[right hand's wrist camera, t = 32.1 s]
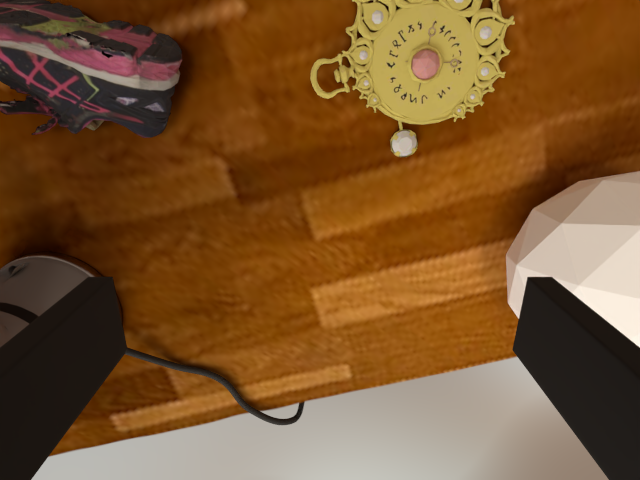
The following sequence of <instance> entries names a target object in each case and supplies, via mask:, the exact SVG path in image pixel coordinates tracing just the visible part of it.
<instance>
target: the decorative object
mask: <svg viewBox="0 0 640 480" xmlns="http://www.w3.org/2000/svg"><path fill="white" fill-rule="evenodd" d="M352 1H354V2H356V3H357V5H358V10H357V15H356V19H355V23H354V24H353V26H352V27H347V28H346V33H347V34H349V35H350V36H351V38H352V44H351V47H350V49H349V50H348V51H347V52H345V51H344V50H343V51H342V53H343V54H342V55H341V54H338V56H337V57H335V58H333V59H325V58H322V59H319V60H317V61H316V62H315V63H314V65H313V67H312V70H311V78H310V79H311V82H312V86H313V88H314V90H315V91H316V93H317V94H318V95H319V96H321V97H323V98H326V99H329V98H331V97H333V96H335V95H336V94H337V93H338V92H343V91H346V92H347V93H348V92H350V89H349V86H348V85H347V84H346V82H347V81H348V79H349V77H351V76H352V77H353V78H354V77H355V78H356V85H355V86H352V87H353V90H355V89H358V90H359V91H360V92H361V96H360V97H359V98H360V99H362V98H364V99H367V103H368V104H367V105H366V106H367V108H368V107H369V106H370V107H373V109H374V112H376V108H378V109H379V110H380V111H381V112H383V113H384V114H386V115H388V116H389V117H391V118H393V119H395V120H398V124H399V129H400V130H399V131H397V132H395V134H394V135H393V137H392V138H391V140H390V144H391V151H392V152H393V153H394V154H395V155H396V156H398V157H408V156H410V155H412V154H413V153H414V152H415V151H416V149H417V145H418V143H417V137H416V135H415V133H414V132H412V131H411V130H405V129H403V128H402V123H401V122H405V123H409V124H430V123H437V122H441V121H443V120H446V119H449V118H452V117H455V119H454V122H455V121H456V119H457V118H458V117H462V119H464V118H465V116H464V115H465V112H466V111H470V112H472V113H473V112H474V109H473V107H474V106H476V105H478V104H480V105H481V106H482V105H483V103H484V102H482V97H483V95H484V94H485V93H487V92H493V91H494V90H495V89H494V88H493V87H492V83H493V82H494V81H495V80H496V79H497V78H498V77H502V78H504V77H505V76H504V74H505V73H506V72H501V71H500V68H499V64H498V62H499V61H500V60H501V58H502V57H504V56H506V55H508V54H509V52H510V50H508V49H507V48H506V47H505V45H504V41H503V39H504V37H505V33H506V29H507V27H508V26H509V25H510V24H515V21H513V18H514V17H513V16H511V17H510V18H509V19H504V18H503V17H502V14H501V8H500V5H499V2H498V1H499V0H491V2H492V5H493V11H492V10H491V9H490V8H484V9H480V6H481V3H482V1H483V0H473V2H472V5H471V7H469V8H468V9H466V10H463V9H465V8H466V7H467V6H468V5H469V4H470V2H471V1H472V0H439V1H434V0H405V1H404V0H373V3H368V2H369V1H370V0H352ZM378 1H380V2H382V3H383V4H385V5H387V6H388V7H389V12H388V11H387V9H386V7H385V6H384V5H382V4H380V3H379V2H378ZM361 2H362V4H361ZM396 5H397V6H398V7H401V8H399V9H398V10H396ZM479 9H480V10H479ZM461 10H462V11H461ZM362 14H363V15H364V16H363V17H362ZM388 16H389V17H388ZM471 16H472V19H471V24H470V23H469V22H468V21H467V19H466V18H465V17H471ZM486 17H492V19H486V20H481V21H479V19H482V18H486ZM495 18H496V21H495ZM363 19H364V22H365V23H366V25H367V26H368V28H369V29H370V30H372V31H377V32H370V31H369V30H368V28H367V27H366V25H365V24H364V22H363V21H362V20H363ZM478 21H479V22H478ZM477 22H478V23H477ZM504 23H505V24H504ZM476 24H477V25H476ZM503 26H504V27H503ZM352 30H353V31H352ZM358 30H359V33H360V34H361V35H362V36H363V38H359V39H357V31H358ZM349 31H352V33H351V32H349ZM496 38H497V41H496V42H494V43H493V44H492V45H491V46H489V47H488V48H483V47H481V46H486V45H489V44H490V43H492V42H493V41H495V39H496ZM356 39H357V40H356ZM371 40H373V41H372V42H371ZM363 44H366V45H367V46H368V47H369V48H368V47H366V46H364V45H363ZM358 45H362V46H360V47H357V46H358ZM501 50H503V51H504V52H505V53H504V54H501ZM350 52H351V53H350ZM494 52H495V57H494V56H493V55H491V54H493V53H494ZM479 53H480V54H481V55H483V56H482V57H481V58H480V59H479ZM344 56H346V57H347V58H348V60H349V62H350V64H351V67H350V68H347V67H346V66H344V65H343V66H342V57H344ZM351 57H352V58H351ZM336 61H339V64H340V67H339V71H338V70H337V69H336V70H335V71H334V75H335V80H336V81H337V83H338V82H340V80H341V81H342V83H344V88H340V89H336V90H334V91H333V92H331V93H326V92H324V91H323V90H322V89H321V88H320V87H319V85H318V82H317V71H318V69H319V67H320V65H322V64H329V63H334V62H336ZM485 61H488V62H485ZM482 62H485V63H482ZM489 62H490V63H492V64H490V63H489ZM358 64H359V65H358ZM365 64H366V65H365ZM361 65H365V67H364V66H361ZM496 69H497V71H498V72H496ZM353 70H354V71H355V73H354V71H353ZM367 71H368V73H367ZM495 75H496V76H495ZM364 76H366V77H364ZM494 76H495V77H494ZM492 77H494V78H493V79H492V80H491V78H492ZM479 80H481V82H480V81H479ZM474 83H475V86H474V87H472V86H473V84H474ZM486 87H489V89H487V90H485V88H486ZM368 88H369V89H368ZM474 90H476V91H474ZM371 92H372V93H371ZM364 94H365V95H366V96H367V97H366V96H364ZM363 96H364V97H363ZM479 96H480V98H479ZM462 102H463V104H462ZM475 102H477V103H475ZM467 107H471V108H470V109H471V110H470V109H466V108H467Z"/></svg>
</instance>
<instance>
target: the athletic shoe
mask: <svg viewBox="0 0 640 480" xmlns="http://www.w3.org/2000/svg"><path fill="white" fill-rule="evenodd" d="M181 62H182V51H181V49H180V47H179V46H178V44H177V43H176V42H175V41H174V40H173V39H172V38H171V37H170V36H168V35H165V34H162V33H159V34H158V35H157V34H156V33H155V32H154V31H153V30H152V29H151V28H149V27H147V26H143V25H140V24H139V25H137V26H135V27H133V26H132V25H131V24H130V23H128V22H123V21H119V20H117V21H116V20H113V21H110V22H107V23H106V22H104V23H103V24H102V23H96V22H95V21H93V20H91V19H90V18H88V17H87V16H85V15H84V14H82V12H81V10H79V9H78V8H73V7H72V5H70V6H64V5H63V4H61V3H59V2H58V3H54V4H51V3H50V2H49V1H45V0H0V81H1V82H2V83H4V84H6V85H8V86H10V88H11V89H15V90H16V91H17V92H19V93H24V94H30V95H31V96H26V100H25V101H7V102H2V101H0V111H1V112H2V113H4V114H43V115H47V116H52V117H53V118H51V119H50V120H49V121H48V122H47V124H43V125H41V126H38V127H37V129H36V132H35V133H32V135H35V134H41V133H43V132H46V131H48V130H50V129H51V128H52V127H53V126H55V125H56V123H57V122H58V124H59V125H60V126H61V127H67V128H68V129H69V131H70V132H71V133H76V134H77V133H78V132H79V131H81V130H82V129H83V128H84V127H87V128H89V129H92V130H95V129H97V128H98V127H99V126H100V125H101V124H102V123H103V122H104V121H105V120H106V121H113V122H115V123H117V124H120V125H122V126H125V127H126V128H128V129H129V130H131V131H132V132H134V133H136V134H137V135H139V136H141V137H143V138H147V137H154V136H156V135H158V134H160V133H162V132H163V130H164V129H165V127H166V125H167V121H168V117H169V115H170V114H171V113H170V110H171V106H172V101H171V98H170V97H171V96H172V95H173V94H174V92H175V84H176V83H178V80H179V76H180V72H179V67H180V64H181ZM14 100H15V99H14Z"/></svg>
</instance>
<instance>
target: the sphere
mask: <svg viewBox="0 0 640 480" xmlns="http://www.w3.org/2000/svg"><path fill="white" fill-rule="evenodd" d="M506 269H507V292H508V304H509V305H510V307H511V308H512V310H513V311H514V313H515V314H516V315H517V317H518V318H519V316H520V311H521V306H522V302H523V297H524V292H525V287H526V282H527V277H553V278H554V279H555V280H556V281H558V282H559V283H560V284H561V285H563V286H564V287H565V288H566V289H568V290H569V291H570V292H571V293H573V294H574V295H575V296H576V297H577V298H579V299H580V300H581V301H582V302H584V303H585V304H586V305H587V306H589V307H590V308H591V309H592V310H594V311H595V312H596V313H597V314H599V315H600V316H601V317H602V318H604V319H605V320H606V321H607V322H609V323H610V324H611V325H612V326H614V327H615V328H616V329H617V330H619V331H620V332H621V333H622V334H624V335H625V336H626V337H627V338H629V339H630V340H631V341H632V342H634V343H635V344H636V345H637V346H639V347H640V171H637V172H631V173H625V174H619V175H613V176H607V177H601V178H595V179H589V180H583V181H578V182H577V183H575V184H573V185H572V186H570V187H568V188H567V189H565V190H563V191H562V192H560V193H558V194H557V195H555V196H553V197H552V198H550V199H548V200H547V201H545V202H543V203H542V204H540V205H538V206H537V207H535V208H533V209H532V211H531V213H530V214H529V216H528V218H527V219H526V221H525V223H524V225H523V226H522V228H521V230H520V231H519V233H518V235H517V236H516V238H515V240H514V241H513V243H512V245H511V247H510V248H509V250H508V252H507V253H506Z"/></svg>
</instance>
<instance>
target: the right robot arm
mask: <svg viewBox="0 0 640 480" xmlns="http://www.w3.org/2000/svg"><path fill="white" fill-rule="evenodd" d="M513 351H514V352H515V354H516V355H517V357H518V358H519V359H520V361H521V362H522V363H523V365H524V366H525V367H526V369H527V370H528V371H529V373H530V374H531V375H532V377H533V378H534V379H535V381H536V382H537V383H538V385H539V386H540V387H541V389H542V390H543V391H544V393H545V394H546V396H547V397H548V398H549V400H550V401H551V402H552V404H553V405H554V406H555V408H556V409H557V410H558V412H559V413H560V414H561V416H562V417H563V418H564V420H565V421H566V422H567V424H568V425H569V426H570V428H571V429H572V430H573V432H574V433H575V435H576V436H577V437H578V439H579V440H580V441H581V443H582V444H583V445H584V447H585V448H586V449H587V451H588V452H589V453H590V455H591V456H592V457H593V459H594V460H595V461H596V463H597V464H598V465H599V467H600V468H601V469H602V471H603V472H604V474H605V475H606V476H607V478H608V479H609V480H640V347H639V346H637V345H636V344H635V343H634V342H632V341H631V340H630V339H629V338H627V337H626V336H625V335H624V334H622V333H621V332H620V331H619V330H617V329H616V328H615V327H614V326H612V325H611V324H610V323H609V322H607V321H606V320H605V319H604V318H602V317H601V316H600V315H599V314H597V313H596V312H595V311H594V310H592V309H591V308H590V307H589V306H587V305H586V304H585V303H584V302H582V301H581V300H580V299H579V298H577V297H576V296H575V295H574V294H573V293H571V292H570V291H569V290H568V289H566V288H565V287H564V286H563V285H561V284H560V283H559V282H558V281H556V280H555V279H554V278H553V277H527V282H526V287H525V292H524V297H523V302H522V306H521V311H520V316H519V321H518V326H517V331H516V336H515V341H514V346H513ZM124 354H127V355H130V356H133V357H136V358H139V359H142V360H146V361H149V362H152V363H155V364H158V365H162V366H165V367H168V368H172V369H175V370H179V371H184V372H189V373H195V374H200V375H204V376H207V377H210V378H212V379H214V380H216V381H218V382H220V383H221V384H222V385H224V386H225V387H226V388H227V389H228V390H229V391H230V393H231V394H232V395H233V397H234V398H235V400H236V401H237V402H238V403H239V405H240V406H241V407H242V408H244V409H245V410H246V411H248V412H249V413H251V414H253V415H255V416H256V417H258V418H260V419H262V420H264V421H267V422H269V423H272V424H277V425H288V424H292V423H294V422H296V421H297V420H298V419H299V418H300V417H301V415H302V412H303V408H304V403H305V402H301V403H299V406H298V410H297V413H296V415H295V416H293V417H291V418H289V419H278V418H273V417H271V416H268V415H266V414H264V413H262V412H260V411H258V410H256V409H255V408H253V407H251V406H250V405H249V404H247V403H246V402H245V401H244V400H243V399H242V397H241V396H240V395H239V393H238V392H237V390H236V389H235V388H234V386H233V385H232V384H231V383H230V382H229V381H228V380H226V379H225V378H223V377H222V376H220V375H218V374H216V373H214V372H211V371H209V370H205V369H201V368H197V367H191V366H186V365H181V364H177V363H174V362H170V361H167V360H164V359H161V358H158V357H154V356H151V355H148V354H145V353H142V352H139V351H136V350H133V349H130V348H127V346H126V341H125V336H124V331H123V326H122V310H121V306H120V302H119V300H118V297H117V295H116V292H115V287H114V282H113V277H103V276H102V275H101V274H100V273H98V272H97V271H96V270H95V269H93V268H92V267H90V266H89V265H87V264H86V263H84V262H82V261H80V260H78V259H76V258H73V257H70V256H67V255H63V254H59V253H52V252H38V253H31V254H28V255H24V256H22V257H19V258H18V259H16V260H14V261H12V262H10V263H8V264H7V265H5V266H4V267H2V268H1V269H0V480H31V479H32V477H33V476H34V475H35V474H36V472H37V471H38V470H39V468H40V467H41V465H42V464H43V463H44V461H45V460H46V459H47V457H48V456H49V455H50V453H51V452H52V451H53V449H54V448H55V447H56V445H57V444H58V443H59V441H60V440H61V439H62V437H63V436H64V435H65V433H66V432H67V430H68V429H69V428H70V426H71V425H72V424H73V422H74V421H75V420H76V418H77V417H78V416H79V414H80V413H81V412H82V410H83V409H84V408H85V406H86V405H87V404H88V402H89V401H90V400H91V398H92V397H93V396H94V394H95V393H96V391H97V390H98V389H99V387H100V386H101V385H102V383H103V382H104V381H105V379H106V378H107V377H108V375H109V374H110V373H111V371H112V370H113V369H114V367H115V366H116V365H117V363H118V362H119V361H120V359H121V358H122V357H123V355H124Z"/></svg>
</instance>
